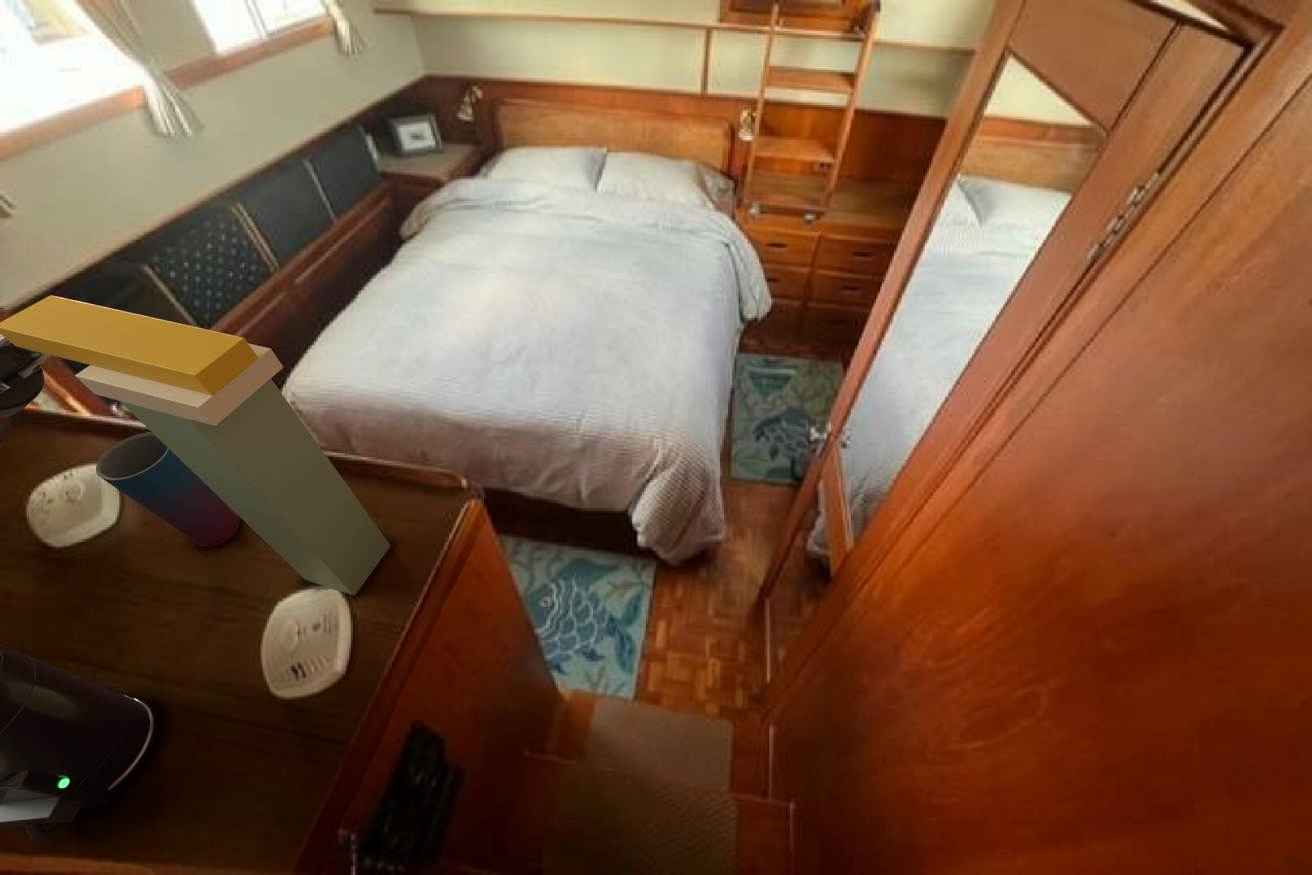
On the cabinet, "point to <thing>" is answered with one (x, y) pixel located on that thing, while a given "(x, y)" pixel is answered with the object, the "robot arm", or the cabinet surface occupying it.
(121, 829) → the cabinet surface
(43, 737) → the robot arm
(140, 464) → the cup
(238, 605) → the cabinet surface
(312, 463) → the stand
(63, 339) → the yellow bar
